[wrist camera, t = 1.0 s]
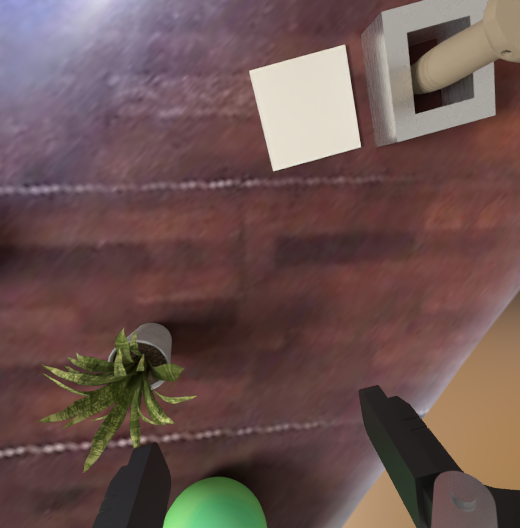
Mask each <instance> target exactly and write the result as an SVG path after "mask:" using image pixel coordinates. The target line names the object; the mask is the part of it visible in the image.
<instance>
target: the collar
mask: <svg viewBox="0 0 520 528" xmlns="http://www.w3.org/2000/svg"><path fill="white" fill-rule="evenodd" d="M488 1H489V0H424V1H420V2H416V3H413V4H409V5H405V6H402V7H398V8H394V9H391V10H387V11H383V12H381V13H380V14H379V15H378V16H377V18H376V19H375V20H374V21H373V22H372V23H371V25H370V26H369V27H368V28H367V29H366V30H365V31H364V33H363V34H362V35H361V36H360V39H361V46H362V53H363V60H364V67H365V74H366V81H367V88H368V95H369V102H370V109H371V116H372V123H373V130H374V137H375V144H376V147H380V146H384V145H388V144H392V143H396V142H400V141H404V140H407V139H411V138H415V137H418V136H422V135H425V134H429V133H433V132H436V131H440V130H443V129H447V128H451V127H454V126H458V125H461V124H465V123H469V122H472V121H476V120H479V119H483V118H487V117H490V116H494V115H495V85H494V62H492V63H490V64H488V65H486V66H484V67H482V68H481V69H479V70H477V71H475V72H473V73H471V74H470V75H468V76H466V77H464V78H462V79H460V80H459V81H457V82H455V83H453V84H451V85H449V86H446V87H444V88H442V89H441V98H442V107H440V108H436V109H433V110H429V111H425V112H422V113H418V114H415V108H414V99H413V89H412V79H411V70H410V60H409V50H408V46H412V45H416V44H419V43H423V42H427V41H430V40H434V39H437V45H438V44H440V43H441V42H443V41H445V40H447V39H448V38H450V37H452V36H454V35H456V34H457V33H459V32H461V31H463V30H465V29H467V28H468V27H470V26H472V25H473V24H475V23H477V22H479V21H480V20H482V19H483V15H484V11H485V8H486V5H487V3H488Z"/></svg>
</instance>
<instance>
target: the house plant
mask: <svg viewBox="0 0 520 528" xmlns="http://www.w3.org/2000/svg"><path fill="white" fill-rule="evenodd" d="M171 345H172V338H171V335H170V332H169V331H168V330H167V329H166V328H165V327H164V326H162V325H160V324H157V323H146V324H143V325H141V326H140V327H138V328H137V329H136V330H135V331H134V332H133V333H132V334H130V335H129V336H128V337H127V338H126V336H125V333H124V328H123V330H122V331H121V333H120V334H119V335H118V336H117V338H116V342H115V349H114V350H113V351H112V352H111V354H110V356H109V359H108V361H104V360H101V359H97V358H93V357H84V356H80V355H78V354H77V358H78V361H76V360H74V359H73V358H68V357H67V358H68V359H69V360H70V361H71V362H72V363H73V364H75V365H76V366H78V367H80V368H83V369H85V370H87V371H91V372H107V373H100V374H92V373H84V372H78V371H75V370H73V369H72V368H69V367H66V366H65V368H66V369H67V370H68V371H69V373H66V372H64V371H61V370H58V369H56V368H52V367H47V366H44V365H43V366H44V367H45V368H46V369H48V370H49V371H51V372H52V373H54V374H55V375H57V376H59V377H62V378H64V379H66V380H69V381H73V382H75V383H77V384H80V385H88V386H98V385H103V384H107V385H106V386H104V387H102V388H100V389H98V390H96V391H90V392H83V391H77V390H74V389H71V388H69V387H67V386H65V385H63V384H62V383H60V382H58V381H57V380H55V379H53V378H51V377H49V376H47V375H46V376H47V377H49V378H50V379H52V380H53V381H54V382H56V383H57V384H58V385H59V386H61V387H62V388H64V389H66V390H68V391H70V392H73V393H75V394H79V395H83V396H87V397H85V398H82V399H80V400H77V401H75V402H74V403H72V404H71V405H70V406H68V407H67V408H66V409H64V410H63V411H61V412H58V413H56V414H53V415H50V416H47V417H46V418H44V419H42V420H40V421H39V422H57V421H61V420H65V419H69V418H72V417H74V416H77V415H78V416H77V417H75V418H74V419H72V420H71V421H70V422H69V423H68V424H67V425H66V426H65V427H64V428H66V427H69V426H71V425H73V424H76V423H78V422H80V421H82V420H84V419H86V418H87V417H90V416H92V415H94V414H96V413H98V412H100V411H102V410H104V409H106V408H107V407H109V406H110V405H112V404H113V403H114V402H116V401H117V402H116V404H115V405H114V407H113V408H112V410H111V411H110V413H109V414H108V415H107V416H104V417H101V418H98V419H95V420H99V419H104V418H106V419H105V421H104V422H103V424H102V425H101V427H100V428H99V430H98V431H97V433H96V435H95V436H94V438H93V442H92V447H91V452H90V454H89V456H88V458H87V460H86V462H85V466H84V472H85V471H87V470H88V469H89V468H90V467H91V465H92V464H93V463H94V462H95V461H96V460H97V459H98V457H99V456H100V455H101V453H102V452H103V451H104V449H105V448H106V446H107V445H108V443H109V441H110V440H111V438H112V437H113V435H114V434H115V432H116V431H117V430H118V428H119V427H120V425H121V424H122V422H123V421H124V419H125V415H126V412H127V409H128V407H129V405H130V403H131V401H132V400H133V401H132V406H131V416H130V434H131V439H132V443H133V446H134V448H135V447H138V446H140V438H141V433H140V425H139V416H141V418H142V419H143V420H144V421H146V422H149V423H151V424H157V425H159V424H160V425H166V423H171V424H175V423H173V422H172V420H171V419H170V418H168V417H167V416H166V414H165V412H164V411H163V409H162V408H161V407H160V405H159V404H158V403H157V401H156V400H155V398H154V395H153V393H152V390H154V389H155V388H157V387H158V386H160V385H161V384H162V383H163V382H164V381H175V380H176V379H178V377H179V376H180V374H181V373H182V371H183V370H184V369H185V368H184V367H183V368H181V367H179V366H177V365H176V364H171V363H170V358H171ZM42 374H43V373H42ZM44 375H45V374H44ZM108 383H109V384H108ZM154 391H155V390H154ZM142 392H143V396H144V400H145V403H146V407H147V409H148V412H149V414H150V417H151V418H152V420H153V421H154V422H156V423H154V422H152V421H150V420H148V419H147V418H145V417H144V416H143V415H142V414H141V412H140V409H141V396H142ZM155 392H156V391H155ZM156 394H157V395H158V396H159V397H160V398H162V399H163V400H164V401H166V402H169V403H179V402H182V401H187V400H190V399H192V398H194V397H196V396H189V397H179V398H171V397H165V396H162V395H160V394H158V393H157V392H156ZM79 414H80V415H79ZM95 420H93V421H95ZM61 429H62V428H61ZM84 472H83V473H84Z"/></svg>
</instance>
